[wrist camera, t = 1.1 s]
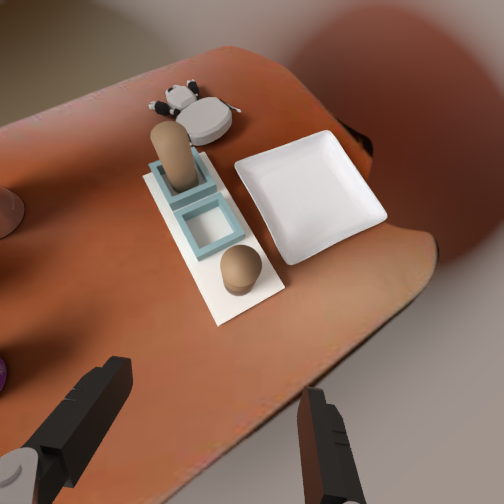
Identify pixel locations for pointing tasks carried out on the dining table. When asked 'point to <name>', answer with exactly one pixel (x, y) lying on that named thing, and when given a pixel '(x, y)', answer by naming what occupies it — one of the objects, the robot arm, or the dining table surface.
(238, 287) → the walnut column
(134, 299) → the dining table surface
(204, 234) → the base board
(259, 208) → the salad plate
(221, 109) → the robot toy
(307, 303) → the dining table surface
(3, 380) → the beverage can
